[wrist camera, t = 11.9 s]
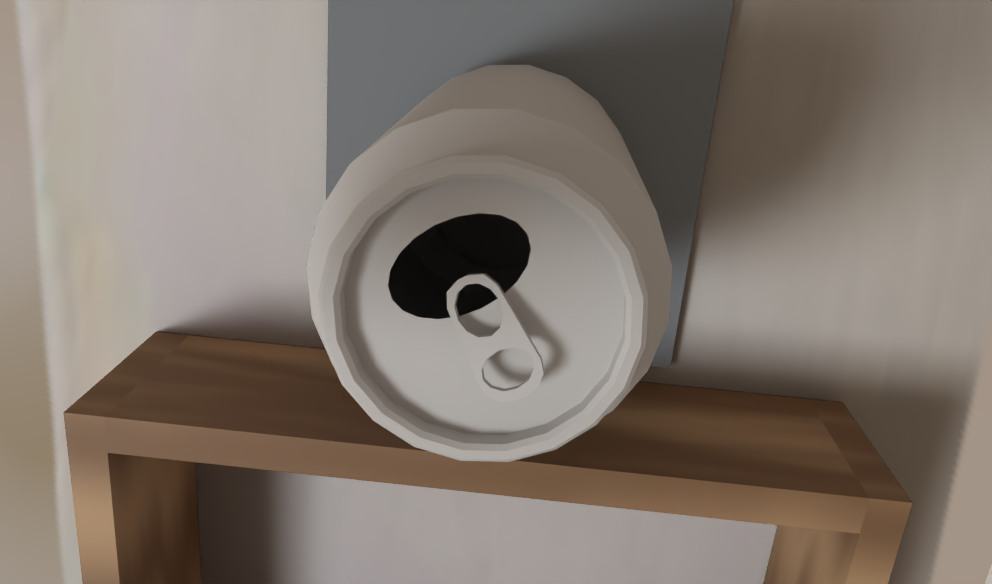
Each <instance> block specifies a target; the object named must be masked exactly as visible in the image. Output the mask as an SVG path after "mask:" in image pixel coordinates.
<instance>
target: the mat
mask: <svg viewBox="0 0 992 584" xmlns="http://www.w3.org/2000/svg"><path fill="white" fill-rule="evenodd" d="M733 3H734V0H328V82H327V167H326V200H327V198H328V197H329V195H330V194H331V192H332V191H333V189H334V187H335V186H336V184H337V183H338V181H339V180H340V178H341V177H342V175H343V174H344V172H345V170H346V169H347V167H348V166H349V164H350V163H351V162H353V161H354V160H355V159H356V158H357V157H358V156H359V155H361V154H362V153H363V152H364V151H365V150H366V149H367V148H369V147H370V146H371V145H372V144H373V143H374V142H375V141H377V140H378V139H379V138H380V137H381V136H382V135H383V134H385V133H386V132H387V131H388V130H389V129H390V128H391V127H393V126H394V125H395V124H396V123H397V122H398V121H399V120H401V119H402V118H403V117H404V116H405V115H406V114H407V113H408V112H410V111H411V110H412V109H413V108H414V107H415V106H416V105H418V104H419V103H420V102H421V101H422V100H424V99H425V98H426V97H428V96H429V95H430V94H431V93H433V92H434V91H435V90H437V89H438V88H439V87H440V86H442V85H443V84H444V83H446V82H447V81H448V80H449V79H451V78H453V77H456V76H458V75H461V74H464V73H467V72H470V71H473V70H476V69H479V68H481V67H484V66H487V65H531V66H534V67H537V68H540V69H543V70H546V71H549V72H552V73H555V74H558V75H561V76H564V77H567V78H568V79H569V80H571V81H572V82H573V83H575V84H576V85H577V86H579V87H580V88H581V89H583V90H584V91H585V92H587V93H588V94H590V95H591V96H592V97H594V98H595V99H596V100H598V102H599V103H600V105H601V106H602V107H603V109H604V110H605V112H606V113H607V115H608V116H609V118H610V119H611V120H612V122H613V123H614V125H615V126H616V128H617V129H618V131H619V132H620V134H621V136H622V138H623V140H624V143H625V145H626V147H627V149H628V151H629V153H630V155H631V158H632V160H633V162H634V164H635V166H636V168H637V171H638V173H639V175H640V177H641V179H642V181H643V183H644V186H645V188H646V190H647V192H648V194H649V196H650V199H651V201H652V203H653V205H654V207H655V209H656V211H657V215H658V218H659V222H660V225H661V229H662V232H663V236H664V239H665V243H666V246H667V250H668V253H669V257H670V261H671V264H672V278H671V294H670V310H669V322H668V324H667V327H666V329H665V332H664V334H663V336H662V339H661V341H660V344H659V346H658V348H657V351H656V353H655V355H654V358H653V360H652V363H651V365H650V367H658V368H668V369H670V366H671V360H672V354H673V349H674V343H675V337H676V331H677V325H678V320H679V314H680V308H681V302H682V297H683V291H684V285H685V279H686V274H687V268H688V262H689V256H690V251H691V245H692V239H693V233H694V228H695V222H696V216H697V210H698V204H699V199H700V193H701V187H702V181H703V176H704V170H705V164H706V158H707V153H708V147H709V141H710V135H711V130H712V124H713V118H714V112H715V107H716V101H717V95H718V89H719V83H720V78H721V72H722V66H723V60H724V55H725V49H726V43H727V37H728V32H729V26H730V20H731V14H732V9H733Z"/></svg>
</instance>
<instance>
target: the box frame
mask: <svg viewBox="0 0 992 584" xmlns="http://www.w3.org/2000/svg"><path fill="white" fill-rule="evenodd" d="M64 421H65V430H66V438H67V447H68V456H69V465H70V474H71V483H72V492H73V501H74V510H75V518H76V527H77V536H78V545H79V554H80V563H81V572H82V581H83V584H202V583H201V563H200V544H199V524H198V504H197V485H196V465H195V462H198V463H207V464H217V465H226V466H235V467H244V468H254V469H263V470H272V471H282V472H291V473H300V474H309V475H319V476H328V477H337V478H347V479H356V480H365V481H374V482H384V483H393V484H402V485H411V486H421V487H430V488H439V489H449V490H458V491H467V492H476V493H486V494H495V495H504V496H514V497H523V498H532V499H541V500H551V501H560V502H569V503H579V504H588V505H597V506H606V507H616V508H625V509H634V510H644V511H653V512H662V513H671V514H681V515H690V516H699V517H709V518H718V519H727V520H736V521H746V522H755V523H764V524H774V525H778V526H777V530H776V534H775V538H774V542H773V546H772V551H771V555H770V559H769V563H768V567H767V571H766V575H765V580H764V584H888V582H889V579H890V575H891V572H892V569H893V565H894V562H895V559H896V556H897V552H898V549H899V546H900V543H901V539H902V536H903V533H904V530H905V526H906V523H907V520H908V517H909V513H910V510H911V507H912V501H911V500H910V498H909V497H908V496H907V494H906V493H905V491H904V490H903V488H902V487H901V485H900V484H899V483H898V481H897V480H896V478H895V477H894V475H893V474H892V473H891V471H890V470H889V468H888V467H887V465H886V464H885V463H884V461H883V460H882V458H881V457H880V455H879V454H878V453H877V451H876V450H875V448H874V447H873V445H872V444H871V442H870V441H869V440H868V438H867V437H866V435H865V434H864V432H863V431H862V430H861V428H860V427H859V425H858V424H857V422H856V421H855V420H854V418H853V417H852V415H851V414H850V412H849V411H848V409H847V408H846V407H845V405H844V404H843V403H841V402H832V401H822V400H812V399H803V398H793V397H783V396H774V395H764V394H754V393H744V392H735V391H725V390H715V389H706V388H696V387H686V386H677V385H667V384H657V383H647V382H638V383H637V384H636V385H635V386H634V387H633V388H632V390H631V391H630V392H629V393H628V394H627V395H626V396H625V398H624V399H623V400H622V401H621V402H620V403H619V404H618V406H617V407H616V408H615V409H614V410H613V411H612V412H610V413H608V414H607V415H605V416H604V417H603V418H602V419H601V420H600V421H599V423H598V424H597V425H596V426H594V427H592V428H591V429H589V430H587V431H586V432H584V433H582V434H581V435H579V436H577V437H576V438H574V439H572V440H571V441H569V442H568V443H566V444H564V445H563V446H561V447H559V448H558V449H556V450H553V451H549V452H545V453H541V454H537V455H533V456H530V457H526V458H522V459H518V460H514V461H511V462H491V461H459V460H456V459H453V458H450V457H446V456H443V455H440V454H436V453H433V452H430V451H426V450H423V449H420V448H416V447H414V446H412V445H410V444H409V443H407V442H406V441H404V440H403V439H401V438H400V437H398V436H396V435H395V434H393V433H392V432H390V431H389V430H387V429H385V428H384V427H382V426H381V425H379V424H378V423H376V422H375V421H373V420H372V419H371V418H370V416H369V415H368V414H367V413H366V412H365V411H364V410H363V408H362V407H361V406H360V405H359V404H358V403H357V401H356V400H355V399H354V398H353V397H352V396H351V395H350V393H349V392H348V391H347V390H346V389H345V388H344V387H343V385H342V384H341V382H340V380H339V377H338V375H337V373H336V370H335V368H334V366H333V365H332V363H331V360H330V358H329V356H328V353H327V351H326V349H317V348H308V347H298V346H288V345H279V344H269V343H259V342H250V341H240V340H230V339H220V338H211V337H201V336H191V335H182V334H172V333H162V332H155V333H154V334H153V335H152V336H151V337H149V338H148V339H147V340H146V341H145V342H144V343H143V344H141V345H140V346H139V347H138V348H137V349H136V350H135V351H133V352H132V353H131V354H130V355H129V356H128V357H127V358H125V359H124V360H123V361H122V362H121V363H120V364H119V365H117V366H116V367H115V368H114V369H113V370H112V371H111V372H109V373H108V374H107V375H106V376H105V377H104V378H103V379H101V380H100V381H99V382H98V383H97V384H96V385H95V386H93V387H92V388H91V389H90V390H89V391H88V392H87V393H85V394H84V395H83V396H82V397H81V398H80V399H79V400H77V401H76V402H75V403H74V404H73V405H72V406H71V407H69V408H68V409H67V410H66V411H65V412H64Z"/></svg>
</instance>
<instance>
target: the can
mask: <svg viewBox="0 0 992 584" xmlns="http://www.w3.org/2000/svg"><path fill="white" fill-rule="evenodd" d="M306 265H307V275H308V285H309V296H310V306H311V316H312V319H313V322H314V324H315V326H316V328H317V331H318V333H319V335H320V338H321V340H322V342H323V344H324V347H325V349H326V351H327V353H328V356H329V358H330V360H331V363H332V365H333V366H334V368H335V370H336V373H337V375H338V377H339V380H340V382H341V384H342V385H343V387H344V388H345V389H346V390H347V391H348V392H349V393H350V395H351V396H352V397H353V398H354V399H355V400H356V401H357V403H358V404H359V405H360V406H361V407H362V408H363V410H364V411H365V412H366V413H367V414H368V415H369V416H370V418H371V419H372V420H373V421H375V422H376V423H378V424H379V425H381V426H382V427H384V428H385V429H387V430H389V431H390V432H392V433H393V434H395V435H396V436H398V437H400V438H401V439H403V440H404V441H406V442H407V443H409V444H410V445H412V446H414V447H416V448H420V449H423V450H426V451H430V452H433V453H436V454H440V455H443V456H446V457H450V458H453V459H456V460H459V461H491V462H511V461H514V460H518V459H522V458H526V457H530V456H533V455H537V454H541V453H545V452H549V451H553V450H556V449H558V448H559V447H561V446H563V445H564V444H566V443H568V442H569V441H571V440H572V439H574V438H576V437H577V436H579V435H581V434H582V433H584V432H586V431H587V430H589V429H591V428H592V427H594V426H596V425H597V424H598V423H599V421H600V420H601V419H602V418H603V417H604V416H605V415H607V414H608V413H610V412H612V411H613V410H614V409H615V408H616V407H617V406H618V404H619V403H620V402H621V401H622V400H623V399H624V398H625V396H626V395H627V394H628V393H629V392H630V391H631V390H632V388H633V387H634V386H635V385H636V384H637V383H638V382H639V380H640V379H641V378H642V377H643V376H644V375H645V374H646V372H647V371H648V370H649V367H650V365H651V363H652V360H653V358H654V355H655V353H656V351H657V348H658V346H659V344H660V341H661V339H662V336H663V334H664V332H665V329H666V327H667V324H668V322H669V310H670V294H671V278H672V264H671V261H670V257H669V253H668V250H667V246H666V243H665V239H664V236H663V232H662V229H661V225H660V222H659V218H658V215H657V211H656V209H655V207H654V205H653V203H652V201H651V199H650V196H649V194H648V192H647V190H646V188H645V186H644V183H643V181H642V179H641V177H640V175H639V173H638V171H637V168H636V166H635V164H634V162H633V160H632V158H631V155H630V153H629V151H628V149H627V147H626V145H625V143H624V140H623V138H622V136H621V134H620V132H619V131H618V129H617V128H616V126H615V125H614V123H613V122H612V120H611V119H610V118H609V116H608V115H607V113H606V112H605V110H604V109H603V107H602V106H601V105H600V103H599V102H598V100H596V99H595V98H594V97H592V96H591V95H590V94H588V93H587V92H585V91H584V90H583V89H581V88H580V87H579V86H577V85H576V84H575V83H573V82H572V81H571V80H569V79H568V78H567V77H564V76H561V75H558V74H555V73H552V72H549V71H546V70H543V69H540V68H537V67H534V66H531V65H487V66H484V67H481V68H479V69H476V70H473V71H470V72H467V73H464V74H461V75H458V76H456V77H453V78H451V79H449V80H448V81H447V82H446V83H444V84H443V85H442V86H440V87H439V88H438V89H437V90H435V91H434V92H433V93H431V94H430V95H429V96H428V97H426V98H425V99H424V100H422V101H421V102H420V103H419V104H418V105H416V106H415V107H414V108H413V109H412V110H411V111H410V112H408V113H407V114H406V115H405V116H404V117H403V118H402V119H401V120H399V121H398V122H397V123H396V124H395V125H394V126H393V127H391V128H390V129H389V130H388V131H387V132H386V133H385V134H383V135H382V136H381V137H380V138H379V139H378V140H377V141H375V142H374V143H373V144H372V145H371V146H370V147H369V148H367V149H366V150H365V151H364V152H363V153H362V154H361V155H359V156H358V157H357V158H356V159H355V160H354V161H353V162H351V163H350V164H349V166H348V167H347V169H346V170H345V172H344V174H343V175H342V177H341V178H340V180H339V181H338V183H337V184H336V186H335V187H334V189H333V191H332V192H331V194H330V195H329V197H328V198H327V200H326V201H325V203H324V204H323V206H322V208H321V209H320V211H319V214H318V218H317V222H316V226H315V230H314V235H313V239H312V243H311V247H310V251H309V255H308V260H307V264H306Z"/></svg>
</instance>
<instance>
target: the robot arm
mask: <svg viewBox="0 0 992 584" xmlns="http://www.w3.org/2000/svg"><path fill="white" fill-rule="evenodd" d="M985 584H992V565H991V568H990V571H989V574H988V577H987V580H986V583H985Z"/></svg>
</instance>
